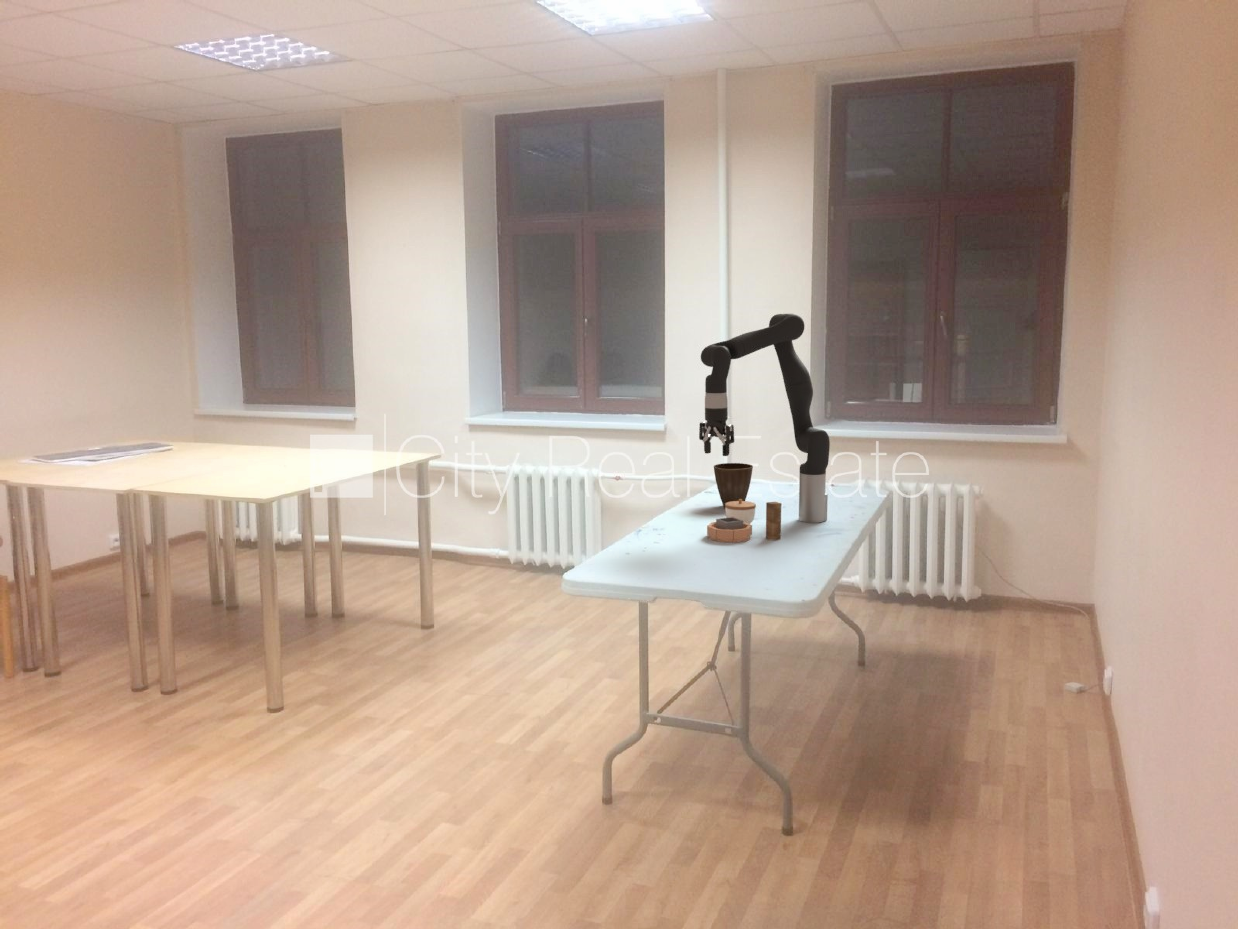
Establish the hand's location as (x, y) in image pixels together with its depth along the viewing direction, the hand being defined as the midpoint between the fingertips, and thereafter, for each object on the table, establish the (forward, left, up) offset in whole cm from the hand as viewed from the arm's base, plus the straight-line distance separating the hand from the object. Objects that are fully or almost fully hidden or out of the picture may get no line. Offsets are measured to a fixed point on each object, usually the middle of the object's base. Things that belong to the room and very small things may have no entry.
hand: (716, 454), depth 324 cm
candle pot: (-2, +6, -27) cm, 28 cm away
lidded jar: (-15, -8, -28) cm, 32 cm away
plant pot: (-30, -37, -28) cm, 55 cm away
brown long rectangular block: (-14, +14, -27) cm, 34 cm away
